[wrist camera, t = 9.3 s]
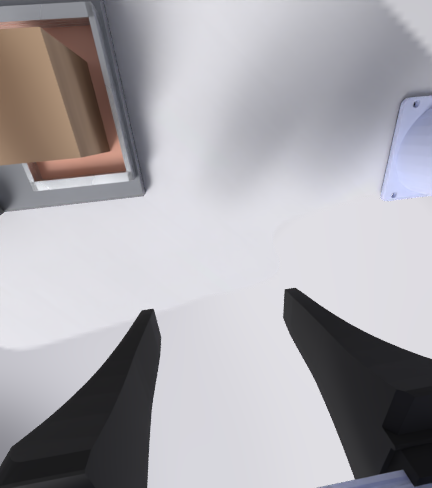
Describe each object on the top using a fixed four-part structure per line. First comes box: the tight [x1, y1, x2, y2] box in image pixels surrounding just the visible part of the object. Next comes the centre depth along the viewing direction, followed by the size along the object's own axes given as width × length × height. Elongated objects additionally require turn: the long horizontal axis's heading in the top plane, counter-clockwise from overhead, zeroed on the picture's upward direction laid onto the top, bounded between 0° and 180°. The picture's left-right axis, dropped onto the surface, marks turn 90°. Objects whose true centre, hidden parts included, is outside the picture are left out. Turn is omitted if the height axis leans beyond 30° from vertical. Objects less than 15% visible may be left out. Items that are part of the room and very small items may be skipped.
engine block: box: [0, 27, 110, 166], centre depth 13 cm, size 4×5×5 cm
